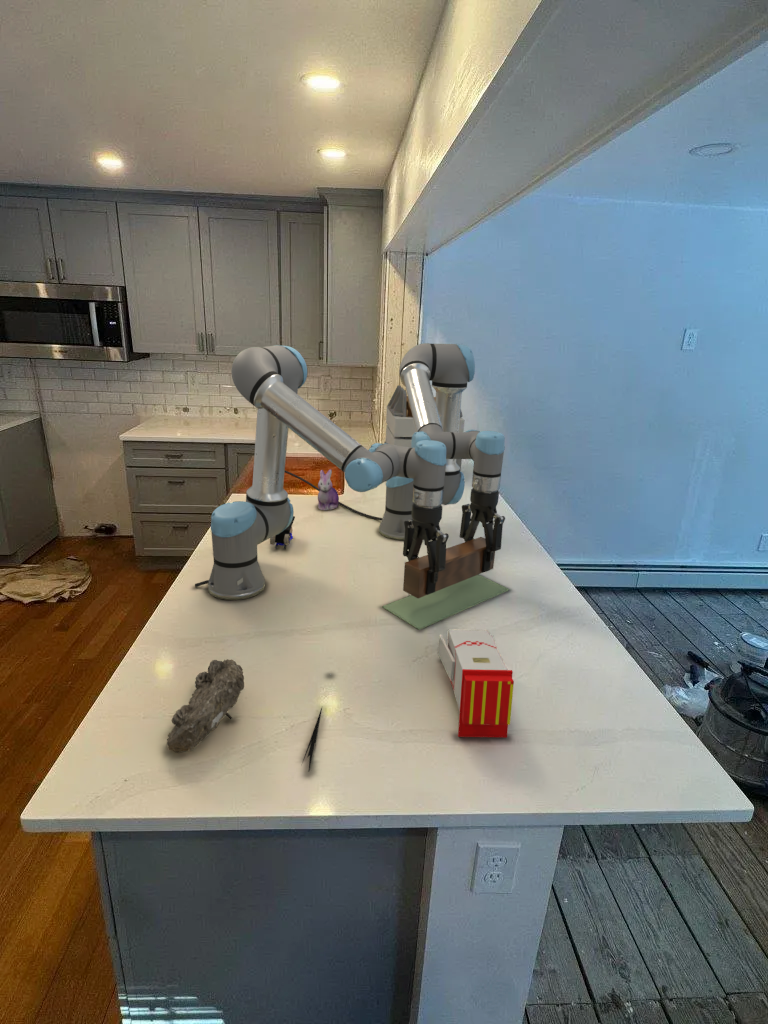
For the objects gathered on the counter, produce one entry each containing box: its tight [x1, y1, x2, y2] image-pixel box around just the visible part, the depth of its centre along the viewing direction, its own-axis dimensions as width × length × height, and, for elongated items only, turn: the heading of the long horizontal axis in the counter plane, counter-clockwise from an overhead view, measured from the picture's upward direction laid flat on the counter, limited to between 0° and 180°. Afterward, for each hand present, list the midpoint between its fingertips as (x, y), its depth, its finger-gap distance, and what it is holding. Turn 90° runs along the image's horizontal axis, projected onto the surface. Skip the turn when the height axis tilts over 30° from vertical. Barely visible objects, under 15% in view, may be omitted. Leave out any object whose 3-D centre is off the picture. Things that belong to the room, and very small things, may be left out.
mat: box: [382, 574, 510, 631], centre depth 157 cm, size 14×36×1 cm, turn 131°
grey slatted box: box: [383, 384, 465, 472], centre depth 268 cm, size 34×33×41 cm
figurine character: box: [269, 515, 296, 550], centre depth 186 cm, size 7×8×15 cm
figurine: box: [317, 468, 340, 511], centre depth 220 cm, size 9×10×15 cm
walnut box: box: [402, 536, 496, 598], centre depth 153 cm, size 30×6×8 cm, turn 131°
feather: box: [301, 673, 332, 771], centre depth 108 cm, size 2×28×2 cm
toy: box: [437, 628, 515, 738], centre depth 117 cm, size 12×13×30 cm
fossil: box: [166, 658, 245, 754], centre depth 106 cm, size 22×10×15 cm
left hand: (421, 588), depth 147 cm, fingers closed on walnut box, 6 cm apart
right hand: (477, 566), depth 161 cm, fingers closed on walnut box, 6 cm apart
